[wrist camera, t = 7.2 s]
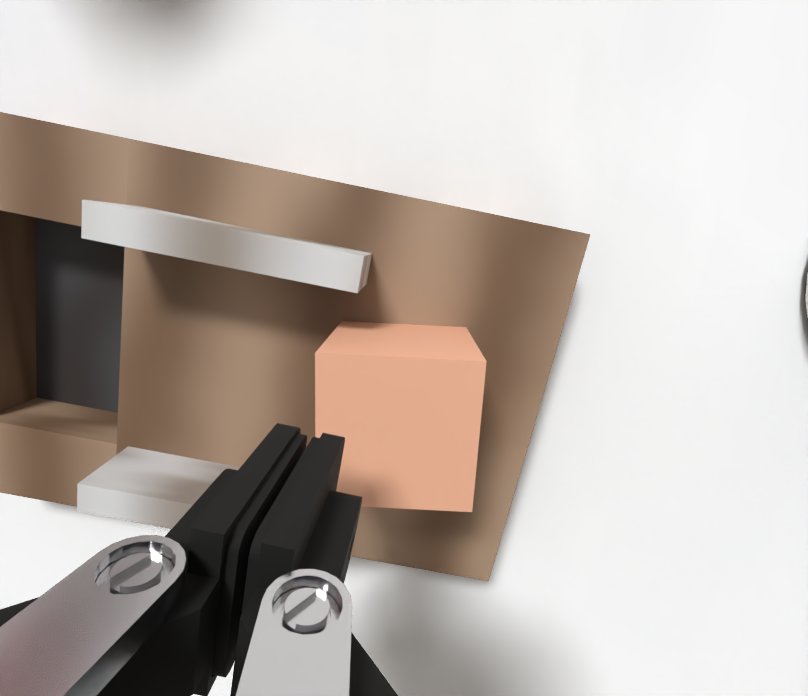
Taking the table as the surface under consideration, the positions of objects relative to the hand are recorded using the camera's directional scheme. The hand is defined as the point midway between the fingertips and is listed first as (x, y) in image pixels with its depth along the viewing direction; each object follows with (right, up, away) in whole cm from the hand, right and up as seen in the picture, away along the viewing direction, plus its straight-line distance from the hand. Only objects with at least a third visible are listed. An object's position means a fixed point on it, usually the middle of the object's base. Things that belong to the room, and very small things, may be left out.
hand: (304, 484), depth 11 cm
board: (-4, +3, +10) cm, 12 cm away
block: (+2, +2, +8) cm, 8 cm away
